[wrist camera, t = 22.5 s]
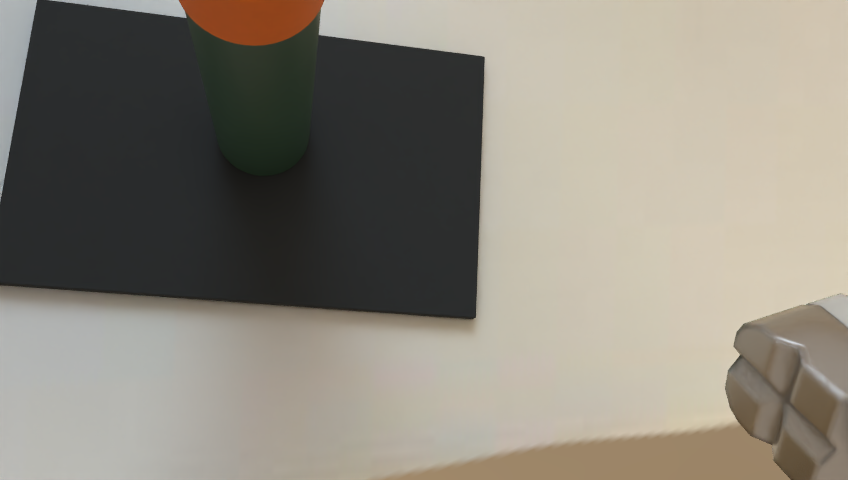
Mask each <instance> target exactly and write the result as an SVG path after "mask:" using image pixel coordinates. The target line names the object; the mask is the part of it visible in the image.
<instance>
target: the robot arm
mask: <svg viewBox="0 0 848 480" xmlns="http://www.w3.org/2000/svg"><path fill="white" fill-rule="evenodd" d="M734 348H735V349H736V350H737V352H738V353H739V354H740V356H739V357H738V359H737V360H736V361H735V362H734V364H733V365H732V366H731V367H730V369H729V370H728V374H727V380H726V386H725V390H726V394H727V398H728V402H729V406H730V408H731V410H732V412H733V414H734V415H735V417H736V419H737V420H738V422H739V423H740V424H741V425H742V426H743V428H744V429H745V430H746V431H747V432H748V433H749V434H750V436H752V437H755V438H757V439H759V440H762V441H764V442H766V443H769V444H771V445H772V450H773V460H774V462H775V463H776V464H777V465H778V466H779V467H780V468H781V469H782V470H783V472H784V473H785V474H786V475H787V476H788V477H789V478H790V479H791V480H848V296H847V295H844V294H837V295H834V296H830V297H827V298H824V299H821V300H818V301H814V302H811V303H808V304H806V305H800V306H797V307H794V308H791V309H787V310H784V311H781V312H778V313H775V314H772V315H769V316H766V317H763V318H760V319H757V320H754V321H751V322H748V323H745V324H743V326H742V327H741V328H740V329H739V330H738V331H737V333H736V337H735V341H734Z"/></svg>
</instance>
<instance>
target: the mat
mask: <svg viewBox="0 0 848 480" xmlns="http://www.w3.org/2000/svg"><path fill="white" fill-rule="evenodd" d="M484 60H485V58H484V57H483V56H475V55H468V54H460V53H452V52H444V51H437V50H429V49H421V48H413V47H406V46H398V45H390V44H382V43H375V42H367V41H359V40H351V39H344V38H336V37H328V36H321V35H318V46H317V57H316V68H315V79H314V91H313V102H312V113H311V124H310V136H309V143H308V146H307V149H306V151H305V153H304V155H303V156H302V158H301V159H300V160H299V161H298V162H297V163H296V164H295V165H294V166H293V167H291V168H290V169H288V170H286V171H284V172H282V173H279V174H276V175H271V176H257V175H252V174H248V173H246V172H243V171H241V170H239V169H238V168H236V167H235V166H233V165H232V164H231V163H230V162H229V161H228V160H227V159H226V158H225V156H224V155H223V153H222V152H221V150H220V148H219V145H218V141H217V137H216V133H215V129H214V125H213V121H212V117H211V113H210V109H209V105H208V101H207V97H206V93H205V89H204V85H203V81H202V77H201V73H200V69H199V65H198V61H197V57H196V53H195V49H194V45H193V41H192V37H191V33H190V29H189V25H188V21H187V18H181V17H174V16H166V15H158V14H150V13H143V12H135V11H127V10H119V9H112V8H104V7H96V6H88V5H81V4H73V3H65V2H57V1H50V0H37V5H36V10H35V15H34V21H33V26H32V32H31V37H30V43H29V48H28V54H27V59H26V65H25V70H24V76H23V81H22V87H21V92H20V98H19V103H18V108H17V114H16V119H15V125H14V130H13V136H12V141H11V147H10V152H9V158H8V163H7V169H6V174H5V180H4V185H3V191H2V196H1V202H0V285H8V286H21V287H35V288H49V289H63V290H77V291H90V292H104V293H118V294H132V295H146V296H159V297H173V298H187V299H201V300H215V301H228V302H242V303H256V304H270V305H284V306H297V307H311V308H325V309H339V310H353V311H366V312H380V313H394V314H408V315H421V316H435V317H449V318H463V319H474V318H476V297H477V267H478V237H479V208H480V178H481V149H482V119H483V90H484Z"/></svg>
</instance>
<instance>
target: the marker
mask: <svg viewBox="0 0 848 480" xmlns="http://www.w3.org/2000/svg"><path fill="white" fill-rule="evenodd" d="M179 2H180V3H181V5H182V7H183V9H184V10H185V13H186V17H187V21H188V25H189V29H190V33H191V37H192V41H193V45H194V49H195V53H196V57H197V61H198V65H199V69H200V73H201V77H202V81H203V85H204V89H205V93H206V97H207V101H208V105H209V109H210V113H211V117H212V121H213V125H214V129H215V133H216V137H217V141H218V145H219V148H220V150H221V152H222V153H223V155H224V156H225V158H226V159H227V160H228V161H229V162H230V163H231V164H232V165H233V166H235V167H236V168H238V169H239V170H241V171H243V172H246V173H248V174H252V175H257V176H271V175H276V174H279V173H282V172H284V171H286V170H288V169H290V168H291V167H293V166H294V165H295V164H296V163H297V162H298V161H299V160H300V159H301V158H302V156H303V155H304V153H305V151H306V149H307V146H308V143H309V136H310V124H311V113H312V102H313V91H314V79H315V68H316V57H317V46H318V35H319V23H320V12H321V7H322V5H323V2H324V0H179Z"/></svg>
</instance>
